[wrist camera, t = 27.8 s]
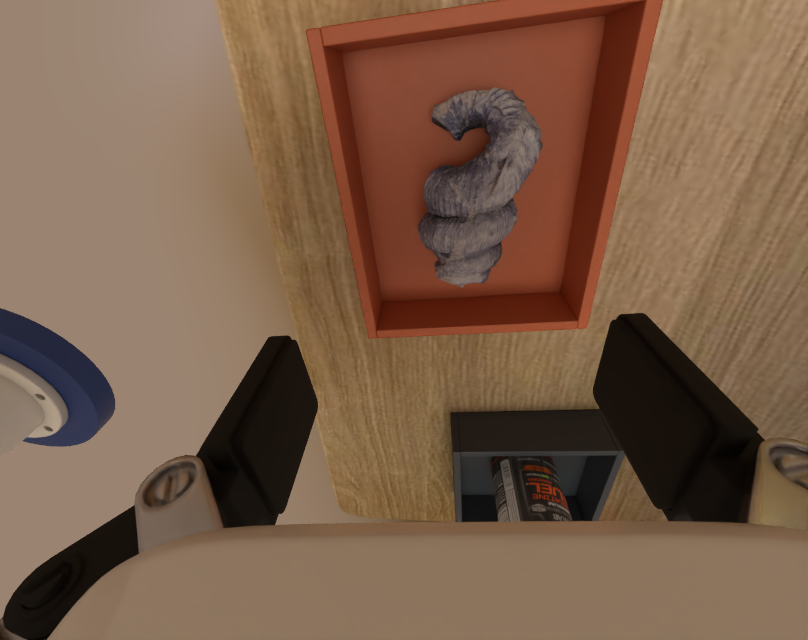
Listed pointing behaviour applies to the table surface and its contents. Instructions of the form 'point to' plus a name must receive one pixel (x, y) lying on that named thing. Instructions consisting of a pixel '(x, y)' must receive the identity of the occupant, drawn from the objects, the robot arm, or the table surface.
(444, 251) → the grey curved ribbed piece
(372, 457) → the table surface
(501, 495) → the supplement bottle
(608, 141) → the terracotta bin
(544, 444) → the slate bin
